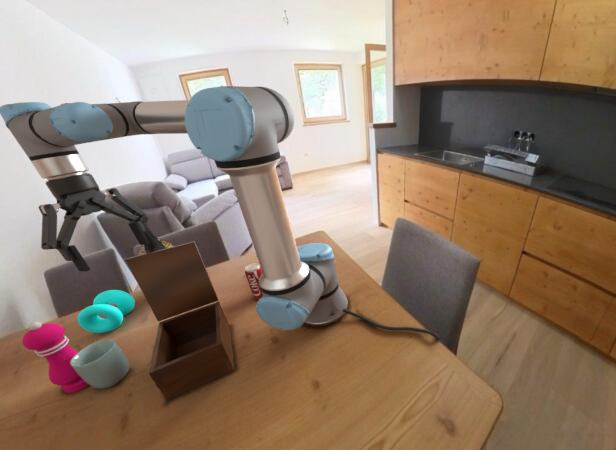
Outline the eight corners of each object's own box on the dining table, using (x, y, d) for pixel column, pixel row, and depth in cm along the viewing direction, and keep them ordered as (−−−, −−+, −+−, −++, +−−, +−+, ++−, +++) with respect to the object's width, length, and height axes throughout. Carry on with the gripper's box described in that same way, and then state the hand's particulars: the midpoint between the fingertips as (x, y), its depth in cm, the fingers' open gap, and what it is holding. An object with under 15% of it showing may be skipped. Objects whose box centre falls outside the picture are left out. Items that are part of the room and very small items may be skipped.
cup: (108, 396, 66) (86, 369, 62) (84, 391, 68) (60, 363, 63) (141, 367, 73) (123, 340, 69) (119, 363, 75) (99, 336, 70)
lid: (194, 242, 73) (194, 241, 73) (125, 259, 66) (126, 258, 67) (218, 300, 80) (218, 299, 80) (157, 321, 73) (158, 319, 74)
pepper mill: (65, 400, 66) (9, 341, 57) (58, 385, 69) (4, 327, 61) (105, 376, 71) (60, 318, 62) (97, 363, 75) (53, 307, 66)
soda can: (272, 292, 98) (264, 264, 93) (259, 301, 94) (249, 272, 89) (264, 288, 101) (254, 260, 96) (250, 296, 97) (240, 268, 92)
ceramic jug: (148, 287, 104) (107, 215, 91) (196, 270, 113) (165, 202, 100) (151, 310, 93) (105, 231, 79) (204, 289, 102) (171, 215, 89)
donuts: (142, 308, 94) (128, 284, 90) (126, 329, 85) (109, 305, 81) (106, 315, 92) (90, 292, 87) (86, 338, 83) (67, 313, 78)
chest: (234, 370, 71) (221, 343, 67) (167, 401, 64) (148, 373, 60) (230, 326, 85) (219, 301, 80) (174, 348, 78) (159, 322, 74)
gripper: (117, 166, 76) (155, 236, 84) (-28, 193, 54) (42, 284, 62) (136, 163, 74) (174, 234, 82) (-6, 189, 52) (63, 284, 60)
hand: (117, 256), depth 72 cm, fingers open, 13 cm apart
